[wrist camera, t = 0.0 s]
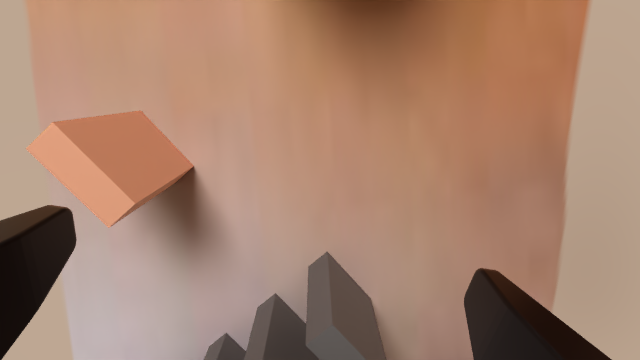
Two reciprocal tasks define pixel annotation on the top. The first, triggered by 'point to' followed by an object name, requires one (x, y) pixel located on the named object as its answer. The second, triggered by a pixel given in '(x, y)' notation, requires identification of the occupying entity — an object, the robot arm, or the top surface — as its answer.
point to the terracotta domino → (110, 161)
